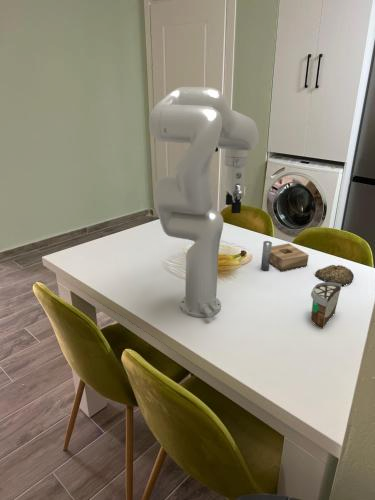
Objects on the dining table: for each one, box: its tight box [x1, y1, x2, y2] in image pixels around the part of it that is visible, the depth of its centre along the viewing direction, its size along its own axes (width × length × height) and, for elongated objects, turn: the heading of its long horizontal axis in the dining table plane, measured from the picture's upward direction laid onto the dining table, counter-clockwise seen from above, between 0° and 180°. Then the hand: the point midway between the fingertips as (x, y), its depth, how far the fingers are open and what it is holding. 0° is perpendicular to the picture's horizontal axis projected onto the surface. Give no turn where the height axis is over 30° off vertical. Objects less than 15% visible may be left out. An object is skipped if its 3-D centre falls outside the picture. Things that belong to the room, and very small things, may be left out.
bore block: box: [269, 243, 309, 273], centre depth 145 cm, size 12×12×5 cm
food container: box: [310, 281, 342, 329], centre depth 109 cm, size 12×6×10 cm, turn 141°
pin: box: [260, 240, 273, 272], centre depth 138 cm, size 3×3×11 cm
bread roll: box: [314, 264, 355, 286], centre depth 134 cm, size 13×12×5 cm
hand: (232, 208), depth 135 cm, fingers open, 9 cm apart
